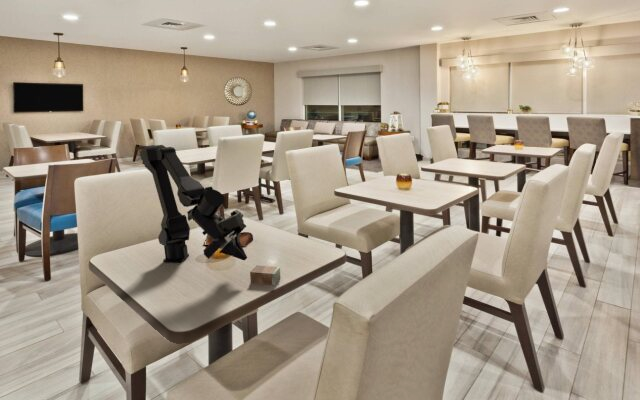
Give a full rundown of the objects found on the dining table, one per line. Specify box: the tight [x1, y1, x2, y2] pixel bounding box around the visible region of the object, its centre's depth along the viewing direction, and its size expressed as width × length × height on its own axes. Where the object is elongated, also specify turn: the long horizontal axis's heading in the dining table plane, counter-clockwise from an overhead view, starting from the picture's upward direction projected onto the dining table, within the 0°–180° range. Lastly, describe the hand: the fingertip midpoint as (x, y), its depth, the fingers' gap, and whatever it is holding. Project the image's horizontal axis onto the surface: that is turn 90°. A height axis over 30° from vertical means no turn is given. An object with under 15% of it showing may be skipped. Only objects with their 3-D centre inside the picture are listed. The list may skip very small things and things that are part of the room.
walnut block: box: [249, 264, 281, 286], centre depth 124 cm, size 4×5×8 cm
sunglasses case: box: [201, 231, 254, 248], centre depth 157 cm, size 18×7×7 cm, turn 83°
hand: (245, 259), depth 124 cm, fingers closed
